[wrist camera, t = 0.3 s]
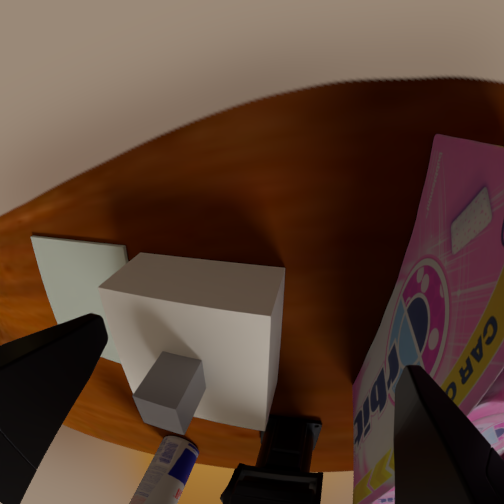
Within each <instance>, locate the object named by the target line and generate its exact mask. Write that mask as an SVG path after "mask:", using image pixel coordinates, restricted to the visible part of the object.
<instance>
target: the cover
mask: <svg viewBox="0 0 504 504" xmlns="http://www.w3.org/2000/svg"><path fill="white" fill-rule="evenodd" d="M284 281H285V268H282V267H272V266H262V265H252V264H243V263H233V262H223V261H214V260H205V259H195V258H186V257H177V256H168V255H159V254H150V253H141V252H140V253H139V254H138V255H137V256H135V257H134V258H133V259H132V260H130V261H129V262H128V263H127V264H125V265H124V266H123V267H122V268H120V269H119V270H118V271H117V272H115V273H114V274H113V275H112V276H111V277H109V278H108V279H107V280H106V281H105V282H103V283H102V284H101V285H100V286H99V287H98V290H99V294H100V298H101V301H102V305H103V308H104V312H105V315H106V319H107V322H108V325H109V328H110V331H111V335H112V338H113V341H114V344H115V347H116V349H117V352H118V355H119V358H120V361H121V364H122V366H123V369H124V372H125V374H126V377H127V379H128V382H129V385H130V387H131V390H132V392H133V399H134V401H135V403H136V406H137V408H138V410H139V413H140V415H141V417H142V419H143V421H144V423H147V424H150V425H153V426H156V427H159V428H162V429H165V430H168V431H171V432H175V433H178V434H181V435H184V434H185V432H186V430H187V428H188V426H189V424H190V422H191V420H192V418H193V416H194V417H198V418H202V419H206V420H210V421H215V422H219V423H224V424H228V425H233V426H238V427H243V428H249V429H254V430H260V431H265V429H266V425H267V421H268V417H269V413H270V409H271V405H272V401H273V397H274V393H275V389H276V385H277V380H278V368H279V355H280V342H281V328H282V314H283V298H284Z"/></svg>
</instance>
